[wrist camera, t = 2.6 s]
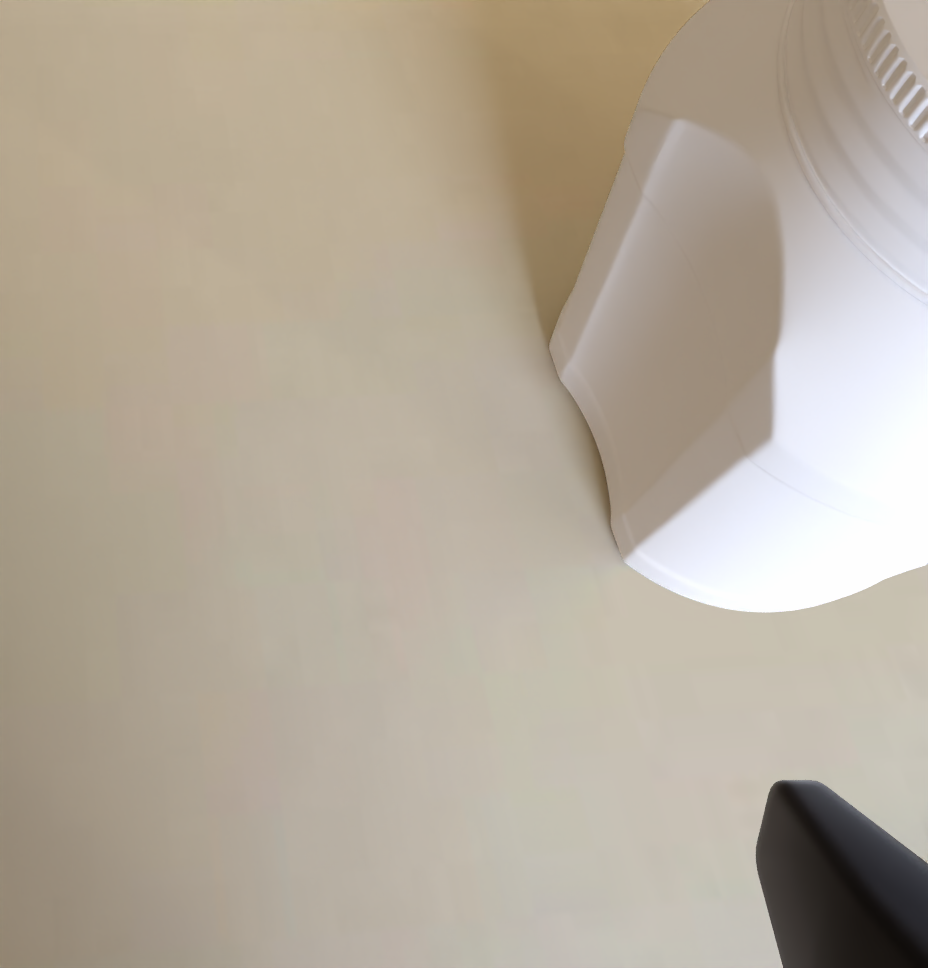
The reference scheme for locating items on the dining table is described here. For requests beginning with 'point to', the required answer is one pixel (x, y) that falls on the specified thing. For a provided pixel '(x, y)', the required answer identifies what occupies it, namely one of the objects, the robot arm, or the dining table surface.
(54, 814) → the dining table surface
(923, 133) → the jar
